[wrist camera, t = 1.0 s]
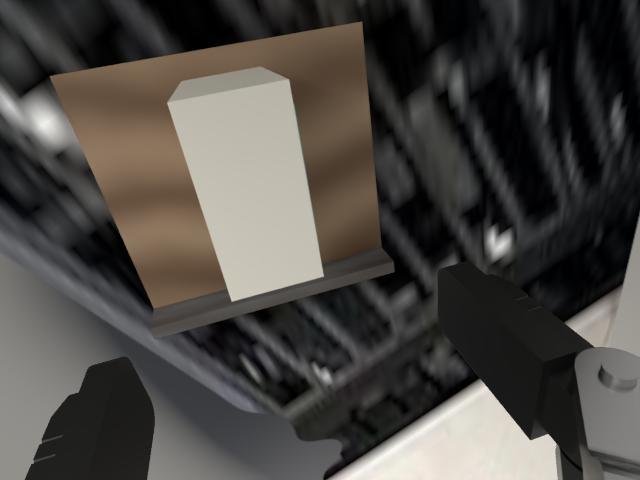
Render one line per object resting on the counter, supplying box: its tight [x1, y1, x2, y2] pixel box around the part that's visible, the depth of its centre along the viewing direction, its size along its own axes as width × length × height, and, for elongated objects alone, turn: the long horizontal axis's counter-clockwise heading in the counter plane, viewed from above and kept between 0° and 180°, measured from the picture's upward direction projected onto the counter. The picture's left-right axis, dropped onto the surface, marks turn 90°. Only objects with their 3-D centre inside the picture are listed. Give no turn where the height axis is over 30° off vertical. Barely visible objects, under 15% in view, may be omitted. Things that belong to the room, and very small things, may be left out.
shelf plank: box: [50, 22, 394, 339], centre depth 28 cm, size 18×19×4 cm
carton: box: [167, 67, 324, 302], centre depth 23 cm, size 5×10×10 cm, turn 9°
